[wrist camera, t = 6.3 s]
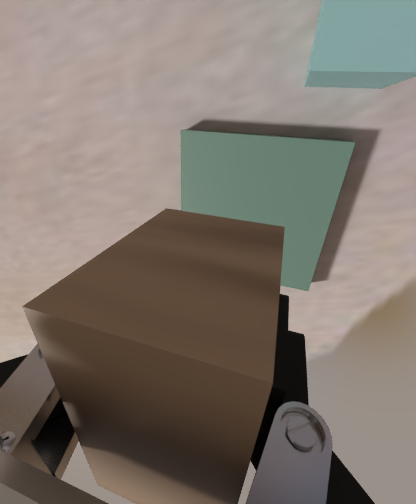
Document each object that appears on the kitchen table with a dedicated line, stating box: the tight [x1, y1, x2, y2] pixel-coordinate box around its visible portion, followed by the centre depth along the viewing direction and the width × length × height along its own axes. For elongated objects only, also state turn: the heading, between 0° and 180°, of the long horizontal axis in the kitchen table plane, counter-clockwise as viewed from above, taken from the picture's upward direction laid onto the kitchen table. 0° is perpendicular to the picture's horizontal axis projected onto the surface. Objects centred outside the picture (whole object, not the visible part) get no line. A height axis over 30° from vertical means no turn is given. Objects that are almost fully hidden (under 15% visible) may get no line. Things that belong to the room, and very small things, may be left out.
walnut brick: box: [23, 208, 285, 504], centre depth 8 cm, size 8×4×6 cm, turn 177°
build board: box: [181, 129, 356, 291], centre depth 20 cm, size 12×12×1 cm
